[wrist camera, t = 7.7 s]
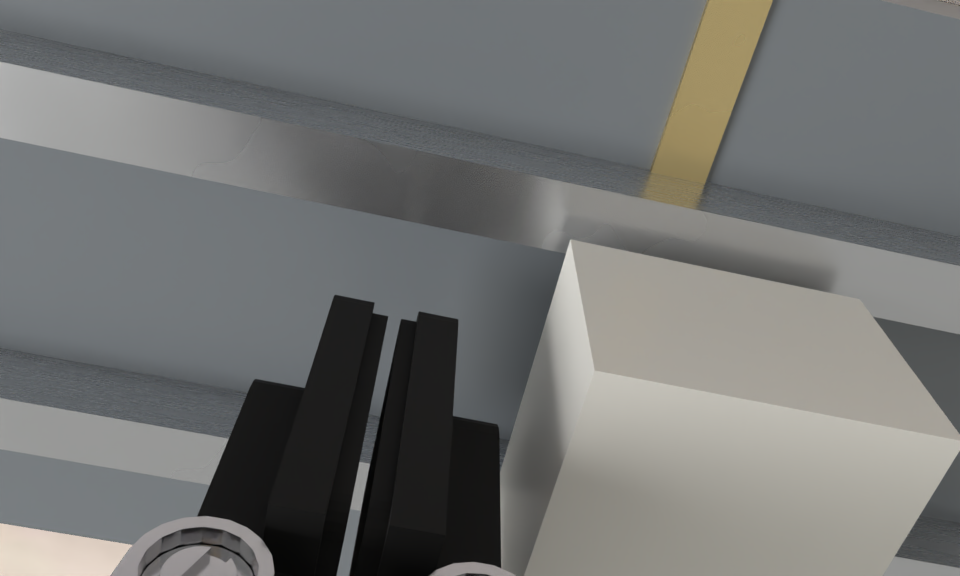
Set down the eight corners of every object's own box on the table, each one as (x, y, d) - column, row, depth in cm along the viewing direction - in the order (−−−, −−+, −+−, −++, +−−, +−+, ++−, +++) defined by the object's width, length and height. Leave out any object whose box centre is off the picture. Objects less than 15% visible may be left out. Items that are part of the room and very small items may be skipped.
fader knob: (562, 199, 13) (594, 370, 9) (827, 255, 13) (964, 441, 9) (485, 466, 15) (483, 691, 11) (711, 507, 15) (783, 736, 12)
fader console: (-625, -391, 11) (-991, -453, 9) (1204, 58, 14) (1385, 124, 11) (-391, 380, 17) (-564, 494, 14) (871, 597, 20) (935, 730, 17)
